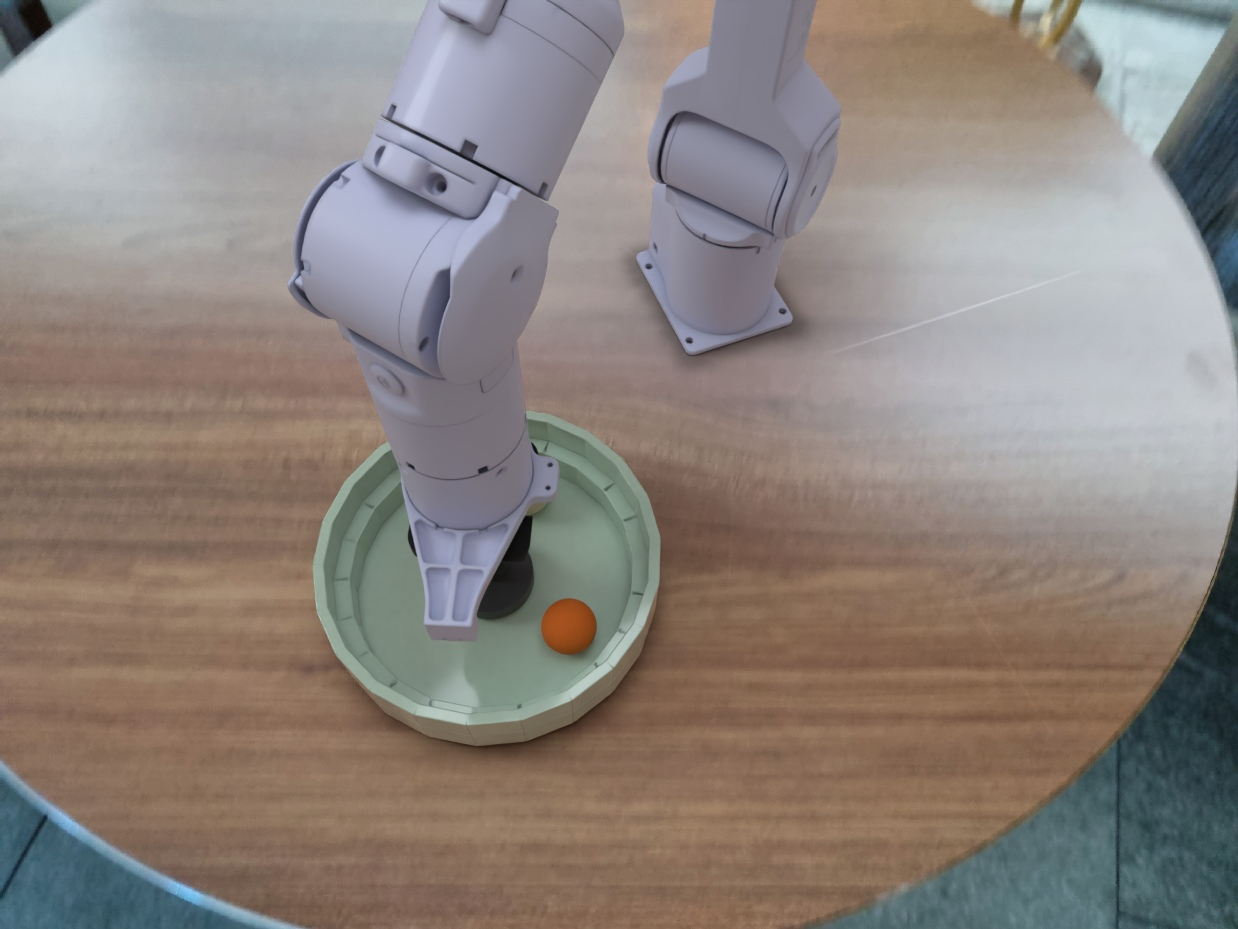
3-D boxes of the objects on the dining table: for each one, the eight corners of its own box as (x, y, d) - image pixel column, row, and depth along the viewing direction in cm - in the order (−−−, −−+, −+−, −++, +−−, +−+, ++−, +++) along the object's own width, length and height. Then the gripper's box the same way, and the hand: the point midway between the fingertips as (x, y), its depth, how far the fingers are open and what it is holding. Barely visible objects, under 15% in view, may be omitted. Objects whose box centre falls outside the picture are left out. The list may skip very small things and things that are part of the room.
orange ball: (541, 590, 51) (595, 587, 51) (547, 639, 52) (600, 636, 52) (534, 615, 48) (592, 612, 48) (541, 667, 49) (597, 663, 49)
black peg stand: (545, 552, 53) (537, 490, 47) (518, 629, 51) (506, 574, 44) (466, 532, 54) (448, 467, 47) (436, 606, 51) (413, 549, 45)
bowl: (304, 507, 56) (279, 466, 51) (589, 415, 59) (588, 369, 55) (381, 803, 47) (360, 783, 43) (707, 673, 51) (718, 643, 47)
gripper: (538, 589, 34) (553, 694, 46) (567, 287, 41) (573, 444, 53) (348, 580, 34) (411, 687, 46) (409, 279, 41) (451, 438, 53)
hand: (489, 556), depth 50 cm, fingers closed on black peg stand
